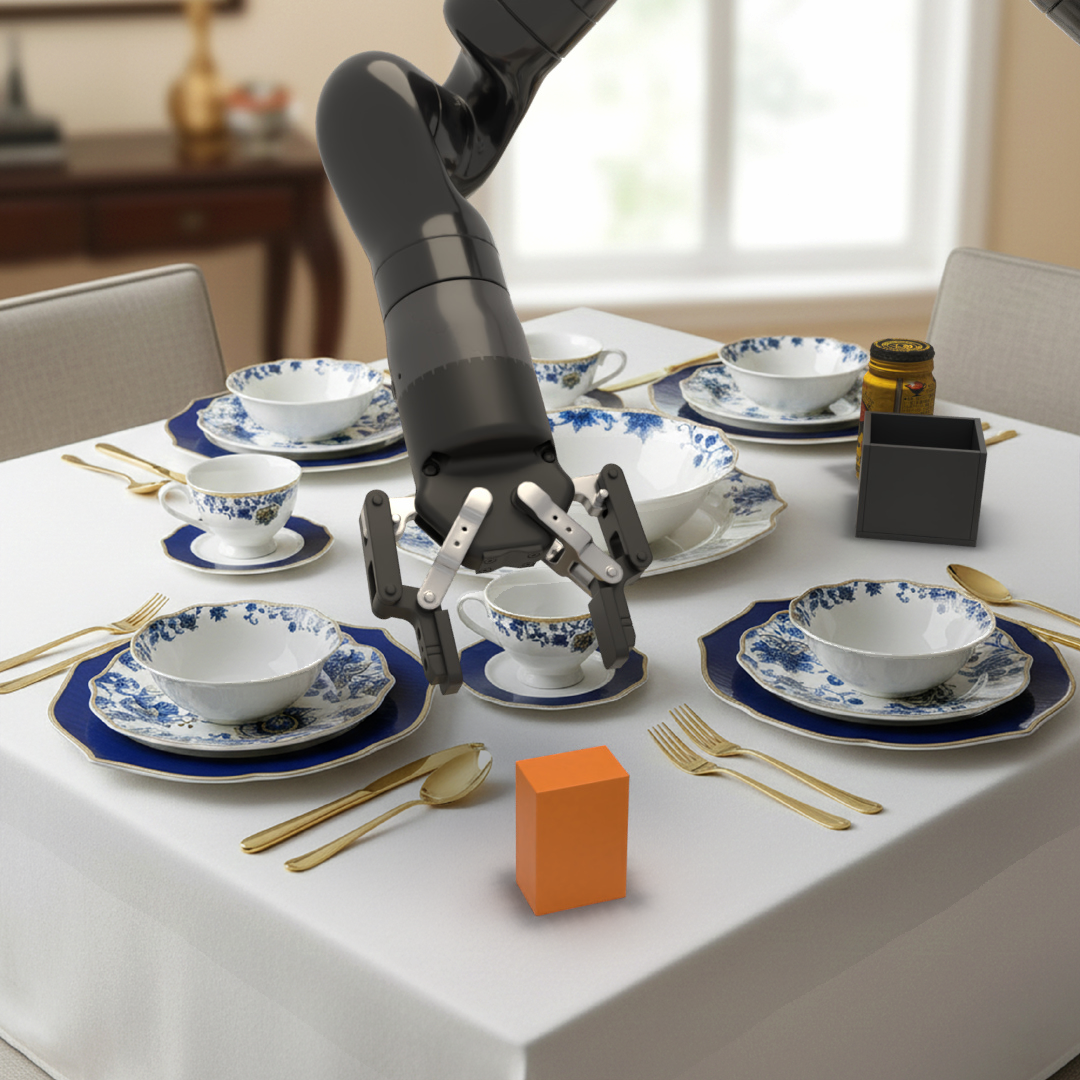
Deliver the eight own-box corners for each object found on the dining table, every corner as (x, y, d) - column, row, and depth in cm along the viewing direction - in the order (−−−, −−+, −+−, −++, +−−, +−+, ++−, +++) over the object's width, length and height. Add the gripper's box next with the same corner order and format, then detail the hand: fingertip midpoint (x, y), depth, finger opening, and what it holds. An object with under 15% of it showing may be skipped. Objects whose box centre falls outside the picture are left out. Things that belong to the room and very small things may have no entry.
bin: (969, 509, 120) (980, 418, 117) (975, 550, 111) (987, 453, 108) (856, 500, 121) (865, 410, 118) (854, 540, 113) (863, 444, 110)
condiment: (835, 472, 128) (846, 337, 123) (919, 462, 130) (932, 330, 126) (879, 499, 122) (892, 359, 117) (966, 488, 124) (983, 350, 120)
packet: (515, 885, 71) (514, 760, 69) (603, 867, 73) (605, 744, 70) (535, 921, 69) (536, 792, 66) (626, 901, 70) (630, 775, 68)
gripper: (341, 363, 72) (408, 674, 66) (611, 340, 76) (695, 629, 70) (324, 434, 78) (384, 723, 73) (574, 409, 83) (648, 679, 77)
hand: (537, 676), depth 71 cm, fingers open, 8 cm apart
